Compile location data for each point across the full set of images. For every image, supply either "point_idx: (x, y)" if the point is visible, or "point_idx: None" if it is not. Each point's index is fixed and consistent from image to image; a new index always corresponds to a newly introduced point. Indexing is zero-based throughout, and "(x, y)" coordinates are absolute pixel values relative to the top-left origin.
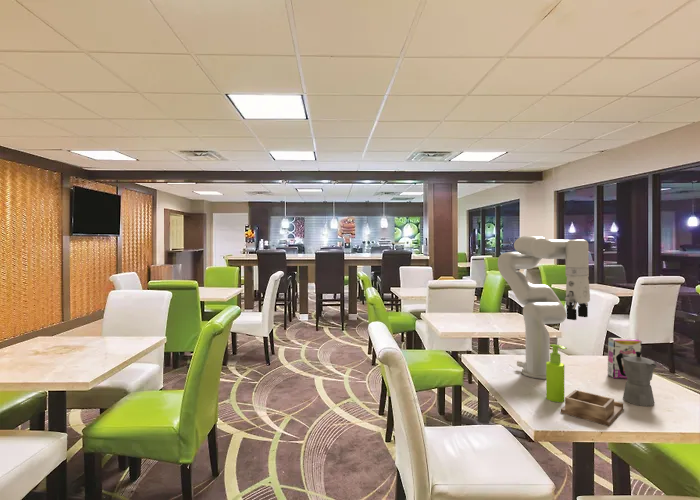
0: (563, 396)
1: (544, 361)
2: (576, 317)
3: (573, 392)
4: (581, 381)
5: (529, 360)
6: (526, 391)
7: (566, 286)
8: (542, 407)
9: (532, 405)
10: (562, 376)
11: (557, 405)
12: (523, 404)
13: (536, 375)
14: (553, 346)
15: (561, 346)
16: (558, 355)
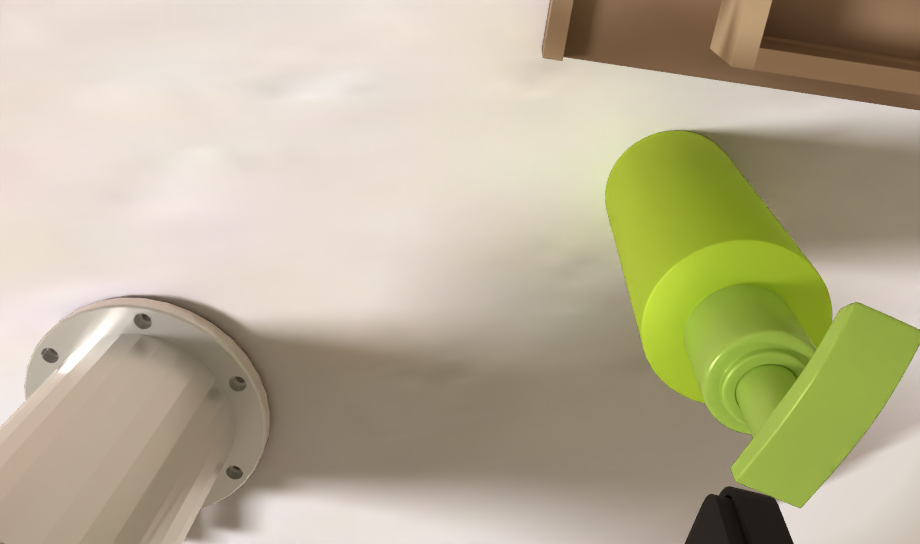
0: (704, 144)
1: (148, 425)
2: (752, 529)
3: (831, 70)
4: (57, 90)
5: (191, 525)
6: (614, 389)
7: None
8: (908, 237)
9: (901, 300)
10: (759, 208)
11: (806, 156)
12: None
13: (244, 404)
14: (827, 460)
15: (860, 377)
16: (810, 344)
